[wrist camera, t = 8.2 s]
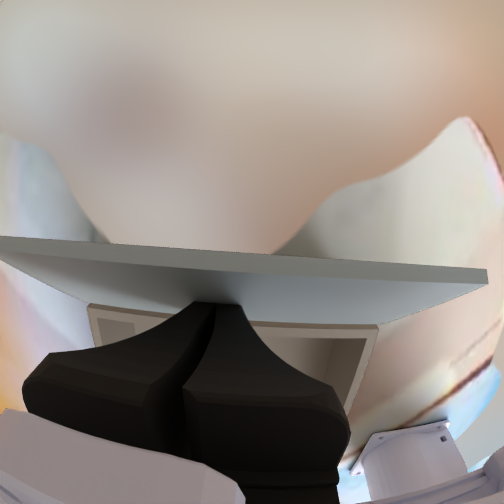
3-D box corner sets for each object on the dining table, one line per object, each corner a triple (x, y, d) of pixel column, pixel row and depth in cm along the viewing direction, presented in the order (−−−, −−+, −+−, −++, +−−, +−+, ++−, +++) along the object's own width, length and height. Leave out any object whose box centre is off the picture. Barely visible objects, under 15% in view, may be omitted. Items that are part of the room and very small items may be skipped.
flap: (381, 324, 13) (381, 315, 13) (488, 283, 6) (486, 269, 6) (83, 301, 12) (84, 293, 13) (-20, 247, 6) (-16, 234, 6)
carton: (351, 284, 18) (379, 329, 13) (311, 429, 23) (319, 476, 18) (123, 268, 18) (86, 307, 13) (148, 417, 22) (133, 461, 18)
